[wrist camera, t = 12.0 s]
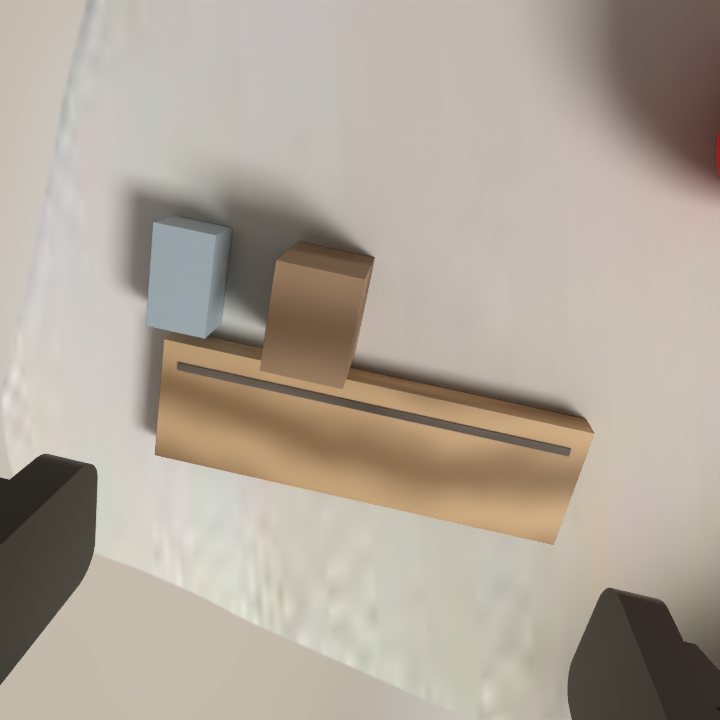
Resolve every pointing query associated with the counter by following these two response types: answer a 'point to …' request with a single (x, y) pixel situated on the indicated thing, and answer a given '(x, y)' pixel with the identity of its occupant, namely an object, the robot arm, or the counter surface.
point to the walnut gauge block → (315, 313)
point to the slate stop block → (187, 275)
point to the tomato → (718, 152)
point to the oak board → (371, 439)
